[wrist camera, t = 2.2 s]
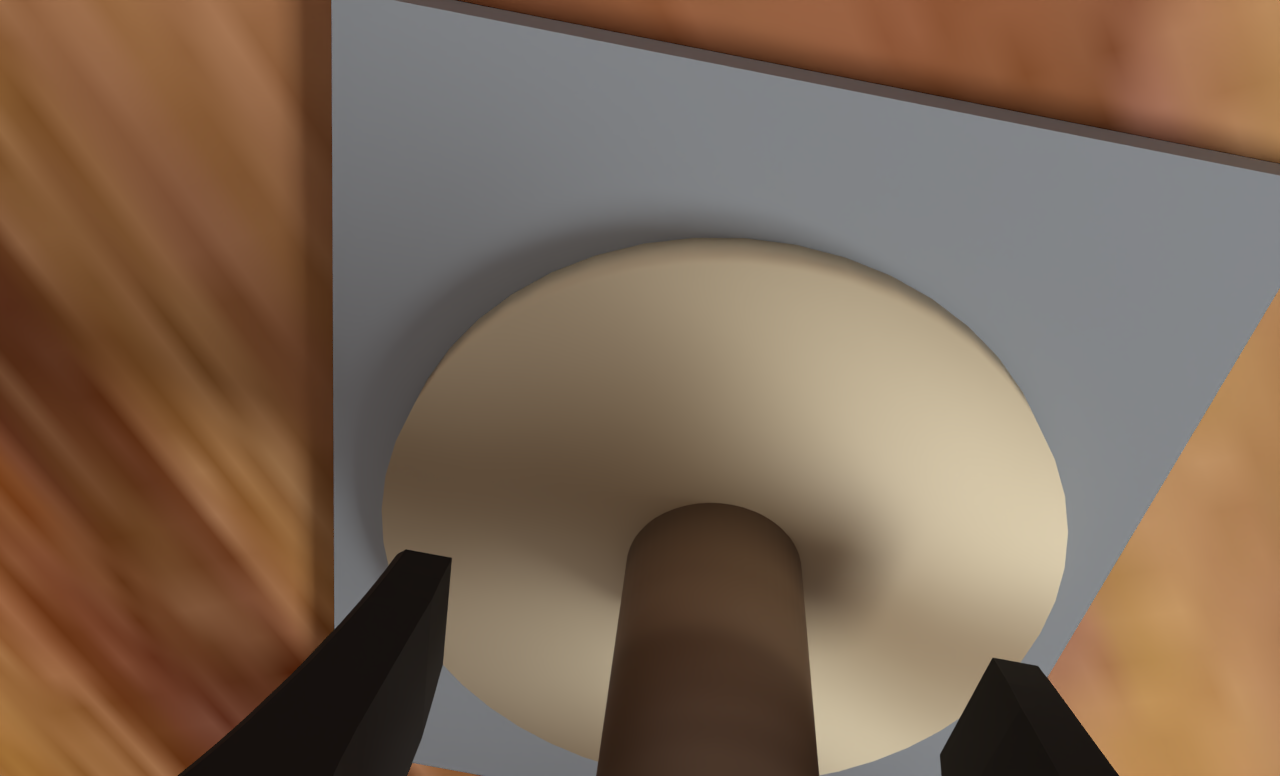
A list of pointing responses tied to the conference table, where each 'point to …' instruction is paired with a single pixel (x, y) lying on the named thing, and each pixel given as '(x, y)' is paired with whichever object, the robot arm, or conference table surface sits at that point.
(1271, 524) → the conference table surface
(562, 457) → the lid
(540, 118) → the mat
